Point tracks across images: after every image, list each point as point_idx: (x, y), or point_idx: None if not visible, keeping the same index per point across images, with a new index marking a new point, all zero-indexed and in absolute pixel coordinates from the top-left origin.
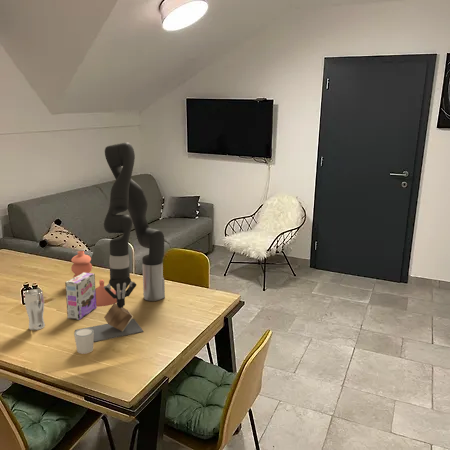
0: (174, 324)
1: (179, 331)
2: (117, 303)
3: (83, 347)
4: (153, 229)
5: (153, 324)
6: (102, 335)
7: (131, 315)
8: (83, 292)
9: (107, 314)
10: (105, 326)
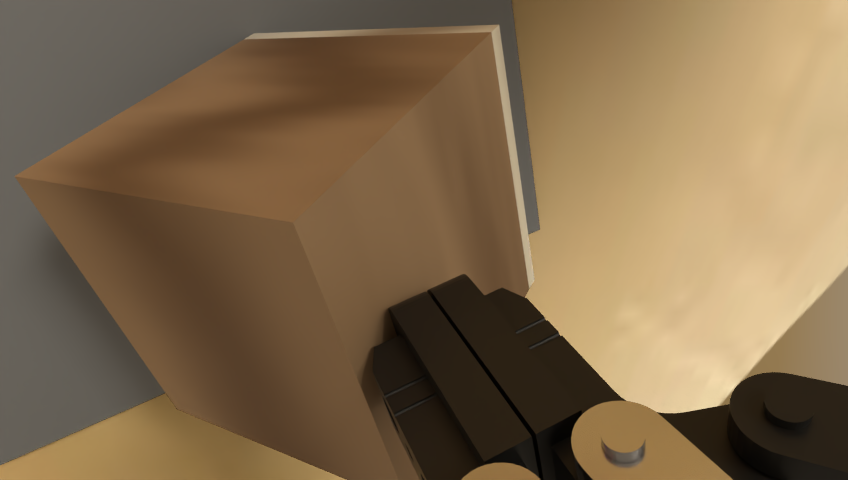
0: (811, 87)
1: (779, 224)
2: (406, 449)
3: None
4: None
5: (659, 58)
6: (85, 335)
7: (524, 275)
8: None
9: (104, 239)
10: (46, 70)
